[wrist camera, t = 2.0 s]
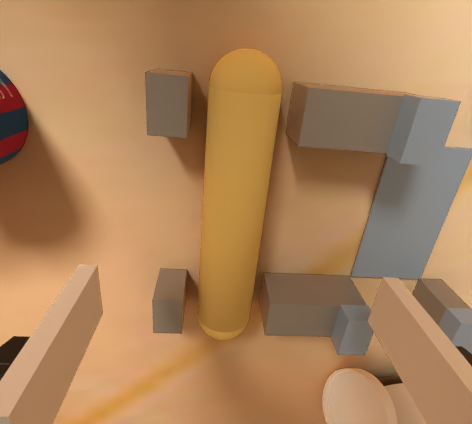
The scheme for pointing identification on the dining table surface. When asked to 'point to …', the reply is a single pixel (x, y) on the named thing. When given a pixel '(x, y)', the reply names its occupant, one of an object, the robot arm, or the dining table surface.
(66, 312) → the robot arm
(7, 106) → the mug
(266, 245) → the dining table surface
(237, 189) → the yellow round-top post
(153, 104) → the grey block frame
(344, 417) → the spread jar
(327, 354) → the dining table surface
